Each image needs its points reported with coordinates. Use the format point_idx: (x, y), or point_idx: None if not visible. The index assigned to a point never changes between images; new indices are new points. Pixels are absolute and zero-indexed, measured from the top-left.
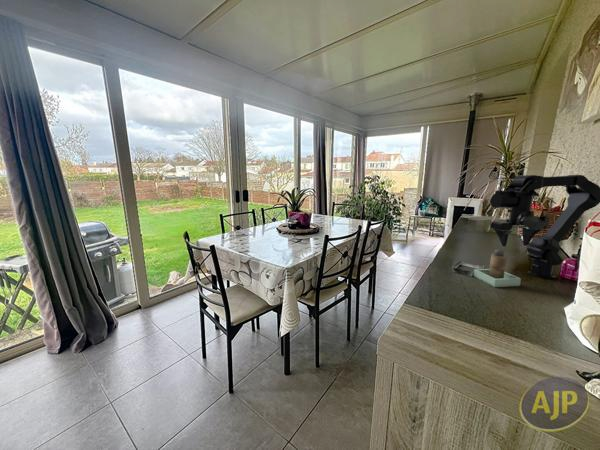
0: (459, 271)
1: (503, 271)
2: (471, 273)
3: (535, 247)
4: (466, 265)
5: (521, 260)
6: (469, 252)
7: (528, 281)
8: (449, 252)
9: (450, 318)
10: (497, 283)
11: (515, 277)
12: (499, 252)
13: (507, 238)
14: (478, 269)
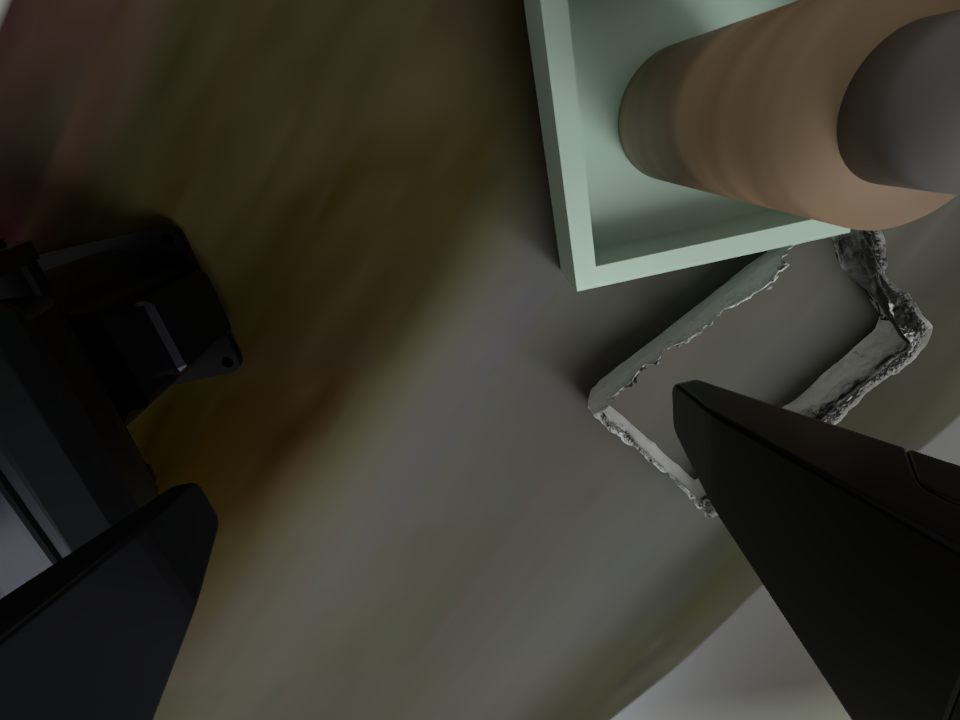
0: (871, 293)
1: (722, 27)
2: None
3: (20, 493)
4: (668, 461)
5: None
6: (446, 714)
7: (351, 139)
8: (594, 697)
9: None
10: None
11: (567, 9)
12: None
13: (839, 475)
14: (800, 238)
